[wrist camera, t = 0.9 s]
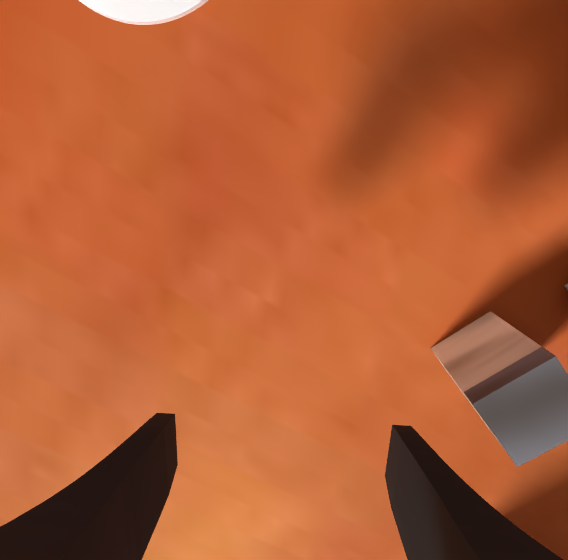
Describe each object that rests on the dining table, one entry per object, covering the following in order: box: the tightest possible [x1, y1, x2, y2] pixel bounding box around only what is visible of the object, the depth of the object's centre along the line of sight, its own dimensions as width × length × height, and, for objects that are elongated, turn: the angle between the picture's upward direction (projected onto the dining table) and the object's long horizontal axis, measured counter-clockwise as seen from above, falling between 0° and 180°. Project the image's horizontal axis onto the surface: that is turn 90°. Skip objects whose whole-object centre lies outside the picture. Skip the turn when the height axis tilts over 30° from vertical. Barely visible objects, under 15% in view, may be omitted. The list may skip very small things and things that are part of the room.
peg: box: [430, 311, 568, 467], centre depth 20 cm, size 4×4×6 cm
